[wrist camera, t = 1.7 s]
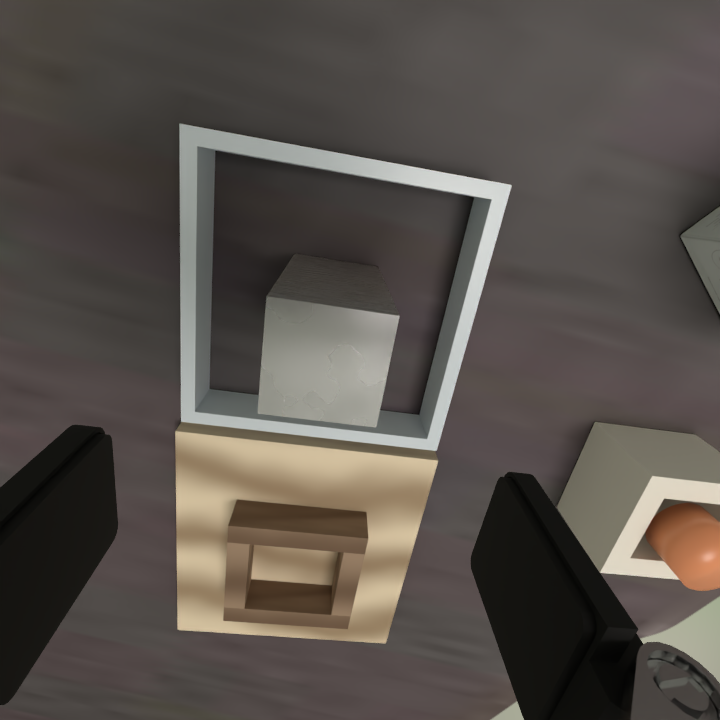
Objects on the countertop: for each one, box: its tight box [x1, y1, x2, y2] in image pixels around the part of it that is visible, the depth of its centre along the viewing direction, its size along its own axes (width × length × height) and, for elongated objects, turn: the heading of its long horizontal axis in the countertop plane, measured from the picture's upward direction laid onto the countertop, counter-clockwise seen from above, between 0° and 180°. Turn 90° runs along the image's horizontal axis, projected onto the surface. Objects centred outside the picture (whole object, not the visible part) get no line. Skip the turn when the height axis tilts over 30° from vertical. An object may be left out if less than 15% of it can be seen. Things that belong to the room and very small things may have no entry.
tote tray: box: [179, 124, 512, 451], centre depth 24 cm, size 16×16×3 cm
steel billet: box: [257, 254, 400, 428], centre depth 21 cm, size 5×5×10 cm
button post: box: [557, 422, 720, 580], centre depth 29 cm, size 8×8×6 cm
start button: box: [645, 503, 720, 591], centre depth 25 cm, size 4×4×3 cm
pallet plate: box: [175, 422, 438, 643], centre depth 31 cm, size 20×18×4 cm
